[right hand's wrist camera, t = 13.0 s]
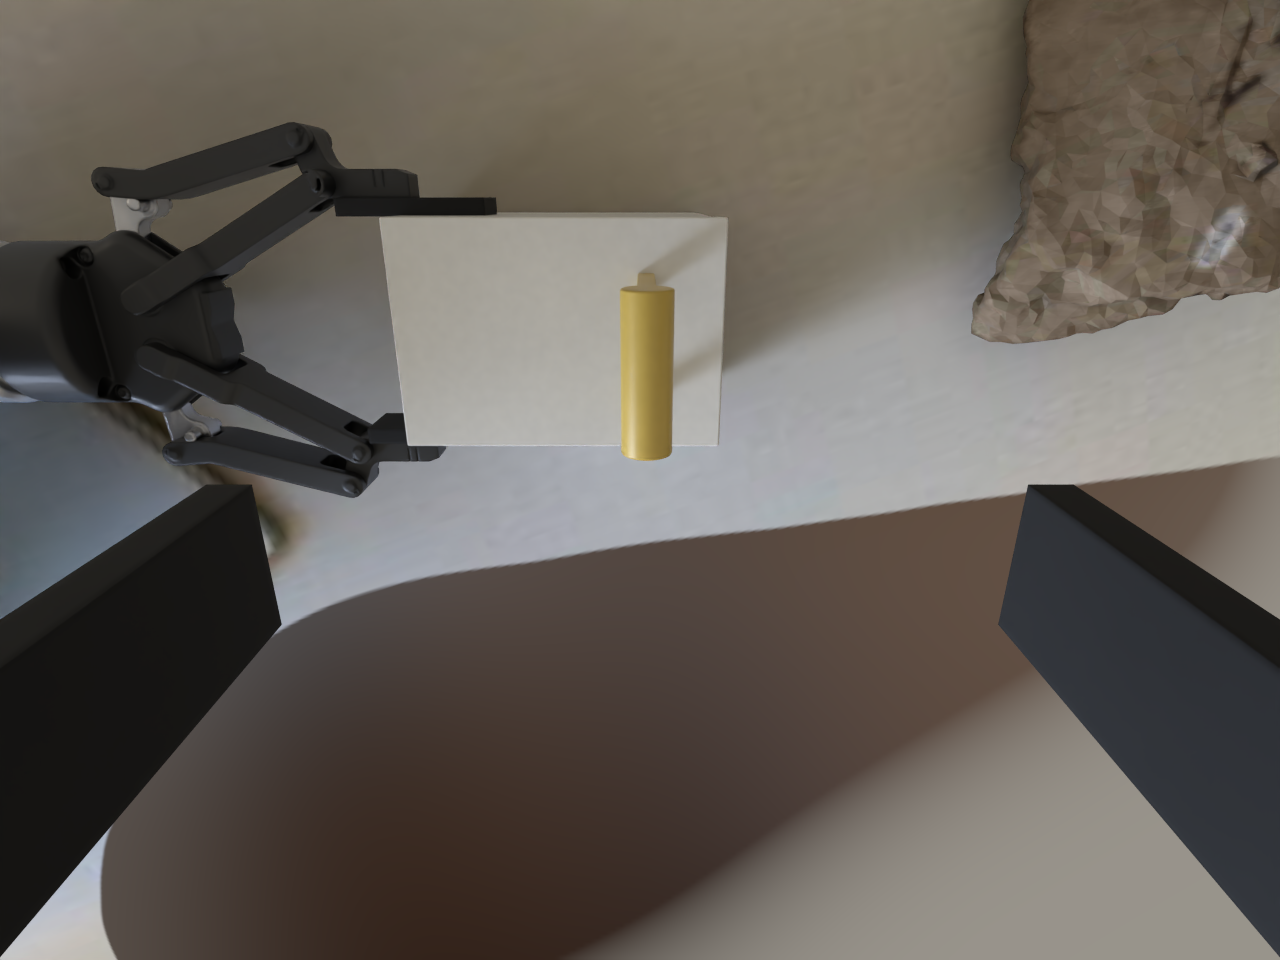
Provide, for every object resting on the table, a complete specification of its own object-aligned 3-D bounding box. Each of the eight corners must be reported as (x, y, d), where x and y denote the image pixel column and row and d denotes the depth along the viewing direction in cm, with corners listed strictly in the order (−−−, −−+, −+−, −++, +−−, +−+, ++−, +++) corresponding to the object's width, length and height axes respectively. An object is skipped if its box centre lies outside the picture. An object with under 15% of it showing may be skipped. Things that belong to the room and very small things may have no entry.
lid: (726, 216, 29) (756, 223, 22) (717, 440, 33) (740, 515, 25) (385, 216, 29) (293, 223, 22) (412, 440, 33) (342, 514, 25)
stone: (1262, 353, 37) (1344, 357, 32) (959, 341, 41) (983, 343, 35) (1363, -110, 33) (1480, -204, 27) (1013, -82, 36) (1052, -161, 30)
